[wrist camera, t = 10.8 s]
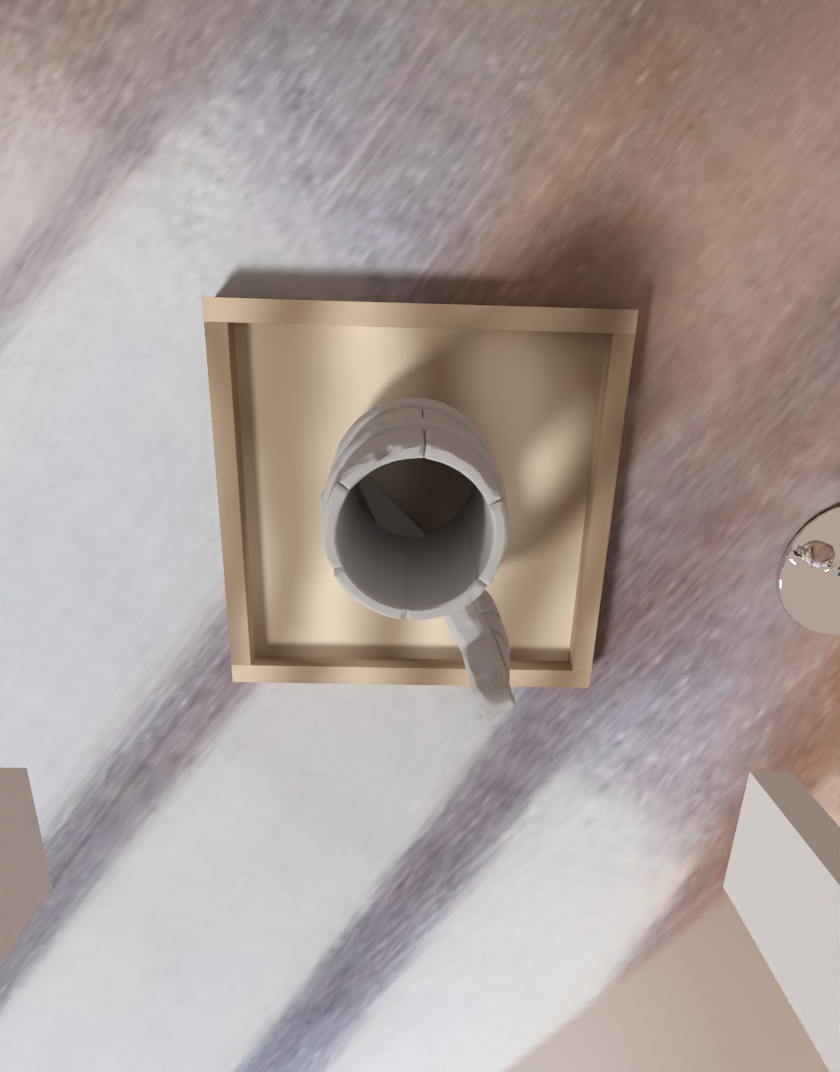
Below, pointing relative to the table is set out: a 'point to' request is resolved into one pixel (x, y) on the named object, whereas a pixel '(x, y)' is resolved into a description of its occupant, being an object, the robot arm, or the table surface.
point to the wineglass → (813, 575)
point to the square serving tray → (413, 475)
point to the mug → (424, 535)
